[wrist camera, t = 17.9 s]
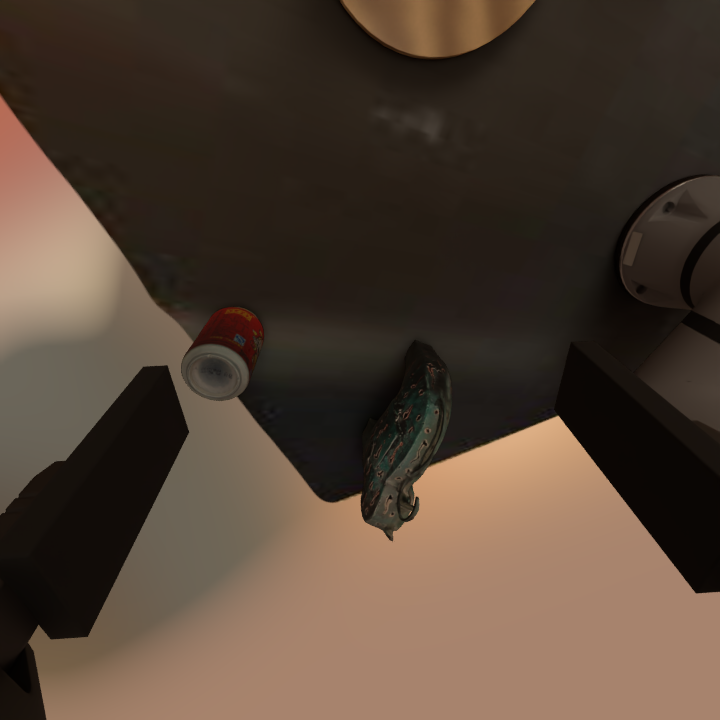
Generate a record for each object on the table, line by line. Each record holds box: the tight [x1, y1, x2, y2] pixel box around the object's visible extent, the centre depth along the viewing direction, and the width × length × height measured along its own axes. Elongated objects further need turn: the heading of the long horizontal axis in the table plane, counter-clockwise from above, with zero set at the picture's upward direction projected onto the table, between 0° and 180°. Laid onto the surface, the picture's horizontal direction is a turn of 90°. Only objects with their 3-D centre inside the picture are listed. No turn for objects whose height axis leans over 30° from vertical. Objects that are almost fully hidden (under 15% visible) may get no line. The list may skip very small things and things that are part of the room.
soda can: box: [181, 307, 264, 401], centre depth 47 cm, size 7×7×12 cm
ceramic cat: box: [361, 340, 452, 541], centre depth 50 cm, size 20×6×20 cm, turn 157°
